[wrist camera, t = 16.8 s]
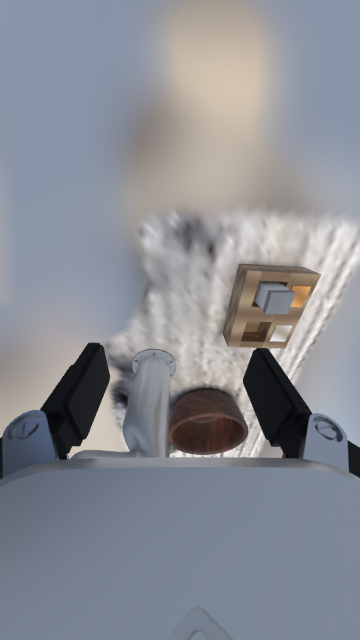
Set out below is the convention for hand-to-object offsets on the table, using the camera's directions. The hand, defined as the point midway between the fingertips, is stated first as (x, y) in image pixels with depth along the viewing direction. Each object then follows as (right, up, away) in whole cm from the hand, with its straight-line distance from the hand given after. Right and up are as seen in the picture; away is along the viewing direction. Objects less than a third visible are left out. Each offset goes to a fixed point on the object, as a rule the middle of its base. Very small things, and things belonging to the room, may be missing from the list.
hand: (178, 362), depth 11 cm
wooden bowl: (+8, -28, +51) cm, 59 cm away
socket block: (+19, +6, +30) cm, 36 cm away
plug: (+18, +10, +27) cm, 33 cm away
